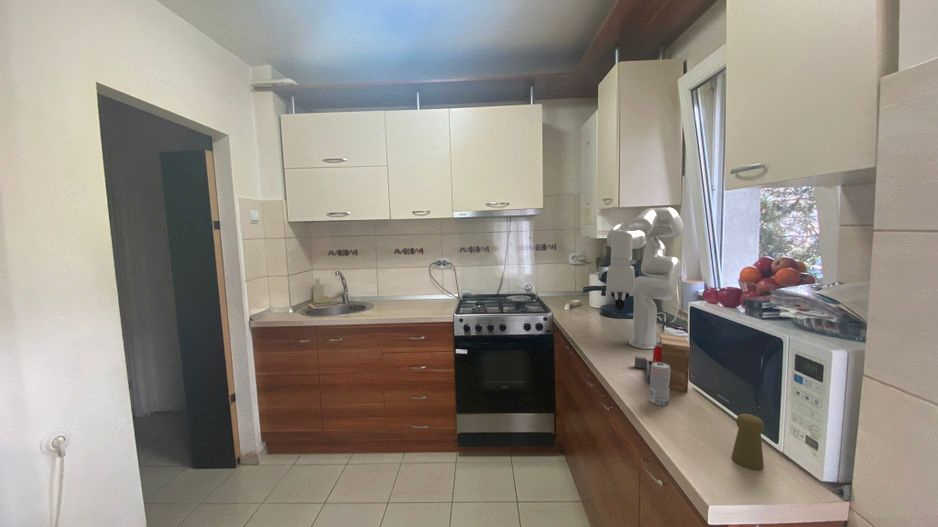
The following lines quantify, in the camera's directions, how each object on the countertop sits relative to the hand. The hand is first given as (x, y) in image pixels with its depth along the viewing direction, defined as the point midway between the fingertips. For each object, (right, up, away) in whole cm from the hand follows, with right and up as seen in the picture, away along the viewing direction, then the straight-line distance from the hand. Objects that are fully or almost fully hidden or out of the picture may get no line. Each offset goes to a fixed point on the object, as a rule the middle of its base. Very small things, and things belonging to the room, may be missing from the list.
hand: (619, 309), depth 143 cm
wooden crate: (+12, -24, -15) cm, 31 cm away
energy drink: (+1, -26, -28) cm, 38 cm away
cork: (+6, -29, -57) cm, 64 cm away
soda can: (+11, -23, -12) cm, 28 cm away
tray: (+10, -23, -10) cm, 27 cm away
